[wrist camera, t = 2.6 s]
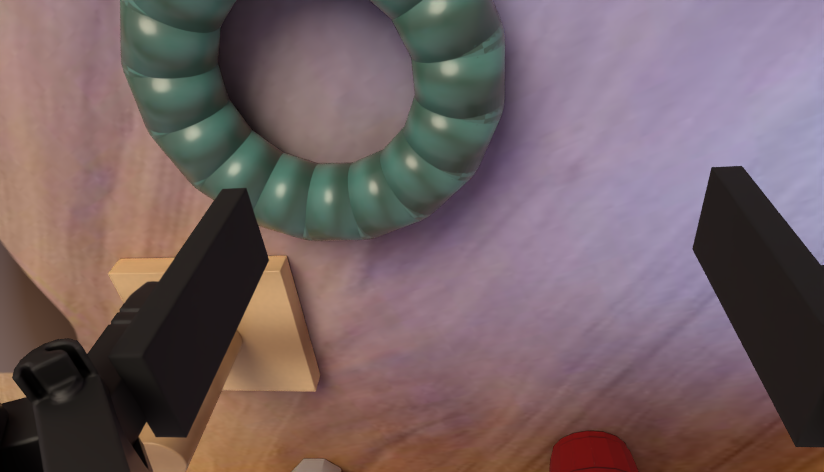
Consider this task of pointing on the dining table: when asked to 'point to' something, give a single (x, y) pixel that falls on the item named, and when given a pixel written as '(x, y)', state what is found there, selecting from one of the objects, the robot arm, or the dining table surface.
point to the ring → (305, 180)
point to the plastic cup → (591, 454)
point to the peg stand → (236, 350)
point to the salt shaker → (316, 466)
